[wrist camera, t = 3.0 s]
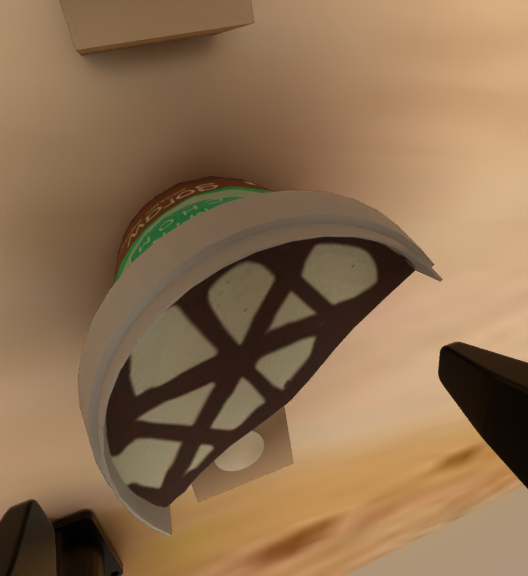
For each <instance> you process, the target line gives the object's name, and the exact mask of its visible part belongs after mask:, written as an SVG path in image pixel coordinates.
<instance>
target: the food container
mask: <svg viewBox="0 0 528 576" xmlns="http://www.w3.org/2000/svg"><path fill="white" fill-rule="evenodd" d="M433 265H434V264H433V262H432V261H431V260H430V259H429V258H428V257H427V255H426V254H425V253H424V252H423V251H422V250H421V249H420V248H419V247H418V246H417V245H416V243H415V242H414V241H413V240H412V239H411V238H410V237H409V236H408V235H407V234H406V233H405V232H404V231H403V230H402V229H401V228H400V227H399V226H398V225H396V224H395V223H394V222H392V221H391V220H390V219H388V218H387V217H386V216H384V215H383V214H382V213H380V212H379V211H378V210H376V209H374V208H371V207H369V206H367V205H365V204H363V203H361V202H359V201H357V200H354V199H352V198H348V197H344V196H340V195H336V194H332V193H328V192H320V191H305V190H286V191H277V192H273V191H270V190H268V189H265V188H263V187H260V186H258V185H255V184H253V183H250V182H248V181H245V180H241V179H232V178H222V177H213V176H210V177H205V178H201V179H197V180H192V181H188V182H183V183H179V184H176V185H175V186H173V187H171V188H169V189H168V190H166V191H164V192H162V193H161V194H159V195H157V196H156V197H154V198H153V199H152V200H151V201H150V202H148V203H147V204H146V205H145V206H144V207H143V208H142V209H141V210H140V211H139V213H138V214H137V215H136V216H135V217H134V219H133V220H132V221H131V223H130V225H129V227H128V228H127V230H126V232H125V234H124V236H123V239H122V242H121V245H120V248H119V251H118V258H117V265H116V272H115V280H114V285H113V287H112V288H111V289H110V290H109V292H108V294H107V295H106V297H105V299H104V301H103V302H102V304H101V306H100V308H99V309H98V311H97V313H96V315H95V316H94V318H93V320H92V323H91V326H90V328H89V331H88V334H87V337H86V340H85V343H84V346H83V348H82V353H81V360H80V367H79V374H78V389H79V403H80V409H81V412H82V416H83V419H84V423H85V426H86V430H87V433H88V437H89V440H90V444H91V447H92V451H93V454H94V457H95V461H96V464H97V465H98V467H99V469H100V471H101V473H102V474H103V476H104V478H105V480H106V481H107V483H108V484H109V486H110V487H111V488H112V489H113V491H114V493H115V494H116V496H117V498H118V500H119V501H120V502H121V503H122V504H123V505H124V506H125V507H126V508H127V509H128V510H129V511H130V512H131V514H132V515H133V516H135V517H136V518H137V519H139V520H140V521H142V522H143V523H145V524H146V525H148V526H149V527H150V528H152V529H154V530H157V531H159V532H161V533H163V534H166V535H168V536H171V535H172V529H171V514H170V504H171V503H172V502H173V501H174V500H175V499H176V498H177V497H178V496H180V495H181V494H182V493H184V492H185V491H186V489H187V488H188V487H189V485H190V484H191V483H192V482H193V481H194V480H195V479H196V478H197V477H198V475H199V474H200V473H201V472H202V471H203V470H205V469H206V468H207V467H208V466H209V465H210V464H211V463H212V462H213V461H214V460H216V459H217V458H218V457H219V456H220V455H221V454H222V453H223V452H224V451H225V450H227V449H228V448H229V447H230V446H231V445H233V444H234V443H235V442H237V441H238V440H240V439H241V438H242V437H244V436H245V435H246V434H248V433H249V432H250V431H252V430H253V429H255V428H256V427H257V426H259V425H260V424H261V423H263V422H264V421H265V420H267V419H268V418H269V417H271V416H272V415H273V414H274V413H276V412H277V411H278V410H279V409H281V408H282V407H283V406H285V405H286V404H287V403H288V402H289V401H290V400H291V399H292V398H293V397H294V396H295V395H296V394H297V393H298V392H299V390H300V389H301V388H302V387H303V386H304V385H305V384H306V383H307V382H308V381H309V380H310V378H311V377H312V376H313V375H314V374H315V372H316V371H317V370H318V369H319V368H320V366H321V365H322V364H323V363H324V361H325V360H326V359H327V358H328V357H329V355H330V354H331V353H332V352H333V351H334V349H335V348H336V347H337V346H338V345H339V344H340V343H341V342H342V340H343V339H344V338H345V337H346V336H347V335H348V334H349V333H350V332H351V330H352V329H353V328H354V327H355V326H356V325H357V324H359V323H360V322H361V321H362V320H363V319H364V318H365V317H366V316H367V315H368V314H369V313H370V312H371V311H372V310H373V309H374V308H375V307H376V306H377V305H378V304H379V303H380V302H381V301H383V300H384V299H385V298H386V297H387V296H388V295H389V294H390V293H391V292H392V291H393V290H394V289H395V288H397V287H398V286H399V285H400V284H401V283H402V282H403V281H404V280H405V279H406V278H407V277H408V276H410V275H411V274H412V273H413V272H414V271H415V270H416V271H418V272H420V273H423V274H425V275H427V276H429V277H431V278H434V279H436V280H438V281H440V282H441V281H442V280H443V279H442V278H441V277H440V276H439V275H438V274H437V273H436V272H435V271H434V270H433V268H432V266H433Z"/></svg>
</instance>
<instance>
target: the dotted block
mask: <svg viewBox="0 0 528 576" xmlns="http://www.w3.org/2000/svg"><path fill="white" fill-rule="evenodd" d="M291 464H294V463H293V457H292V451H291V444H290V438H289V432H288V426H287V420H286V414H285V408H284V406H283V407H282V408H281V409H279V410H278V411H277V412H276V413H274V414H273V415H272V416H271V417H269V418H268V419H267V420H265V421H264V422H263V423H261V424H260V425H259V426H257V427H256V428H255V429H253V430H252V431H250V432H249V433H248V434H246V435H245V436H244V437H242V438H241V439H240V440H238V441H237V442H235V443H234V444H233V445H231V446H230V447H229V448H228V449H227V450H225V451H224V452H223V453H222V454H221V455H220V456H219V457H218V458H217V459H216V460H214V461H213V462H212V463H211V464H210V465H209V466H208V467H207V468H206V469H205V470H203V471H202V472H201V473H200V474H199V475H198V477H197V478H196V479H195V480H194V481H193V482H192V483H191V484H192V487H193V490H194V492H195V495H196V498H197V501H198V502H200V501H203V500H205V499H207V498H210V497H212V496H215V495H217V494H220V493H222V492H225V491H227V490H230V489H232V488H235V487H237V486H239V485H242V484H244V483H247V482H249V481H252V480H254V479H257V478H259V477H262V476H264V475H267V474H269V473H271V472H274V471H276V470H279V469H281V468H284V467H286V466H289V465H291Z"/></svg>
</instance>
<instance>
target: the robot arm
mask: <svg viewBox="0 0 528 576" xmlns="http://www.w3.org/2000/svg"><path fill="white" fill-rule="evenodd" d="M438 375H439V379H440V381H441V383H442V384H443V386H444V387H445V388H446V390H447V391H448V393H449V394H450V395H451V397H452V398H453V399H454V401H455V402H456V403H457V405H458V406H459V407H460V409H461V410H462V412H463V413H464V414H465V416H466V417H467V418H468V420H469V421H470V422H471V424H472V425H473V427H474V428H475V429H476V430H477V432H478V433H479V434H480V436H481V437H482V438H483V439H484V440H485V441H486V443H487V444H488V445H489V446H490V447H491V448H492V449H493V451H494V452H495V453H496V454H497V455H498V456H499V457H500V458H501V460H502V461H503V462H504V463H505V464H506V465H507V466H508V467H509V468H510V470H511V471H512V472H513V473H514V474H515V475H516V476H517V477H518V479H519V480H520V481H521V482H522V483H523V484H524V485H525V486H526V487H527V489H528V363H527V362H524V361H520V360H517V359H514V358H511V357H507V356H504V355H501V354H498V353H494V352H491V351H488V350H485V349H481V348H478V347H475V346H472V345H468V344H465V343H462V342H453V343H451V344H448V345H445V346H443V347H442V348H441V350H440V356H439V369H438ZM122 573H123V565H122V563H121V561H120V559H119V558H118V556H117V554H116V553H115V551H114V549H113V548H112V546H111V544H110V542H109V541H108V539H107V537H106V536H105V534H104V532H103V530H102V529H101V527H100V525H99V524H98V522H97V520H96V518H95V517H94V515H93V514H92V513H90V512H83V513H80V514H77V515H75V516H72V517H70V518H67V519H64V520H62V521H59V522H57V523H54V524H52V523H51V522H50V520H49V519H48V517H47V516H46V514H45V513H44V511H43V510H42V508H41V507H40V505H39V504H38V503H37V501H35V500H33V499H32V500H28V501H25V502H22V503H19V504H17V505H14V506H12V507H10V508H9V509H8V510H7V512H6V513H5V515H4V516H3V518H2V519H1V521H0V576H121V575H122Z"/></svg>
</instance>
